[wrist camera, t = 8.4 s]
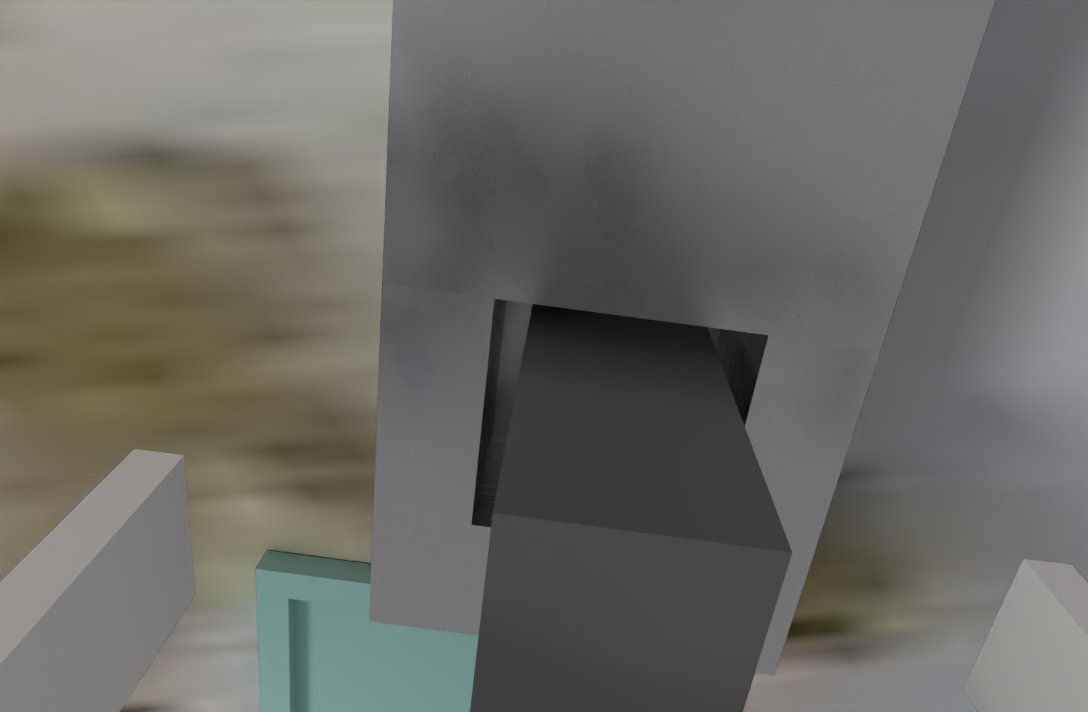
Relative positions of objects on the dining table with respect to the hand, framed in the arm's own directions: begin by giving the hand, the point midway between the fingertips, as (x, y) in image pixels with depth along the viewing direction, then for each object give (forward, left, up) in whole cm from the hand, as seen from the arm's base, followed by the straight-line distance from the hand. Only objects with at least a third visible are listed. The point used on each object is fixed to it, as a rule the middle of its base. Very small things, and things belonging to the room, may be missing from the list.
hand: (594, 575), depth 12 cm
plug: (0, 0, -9) cm, 9 cm away
